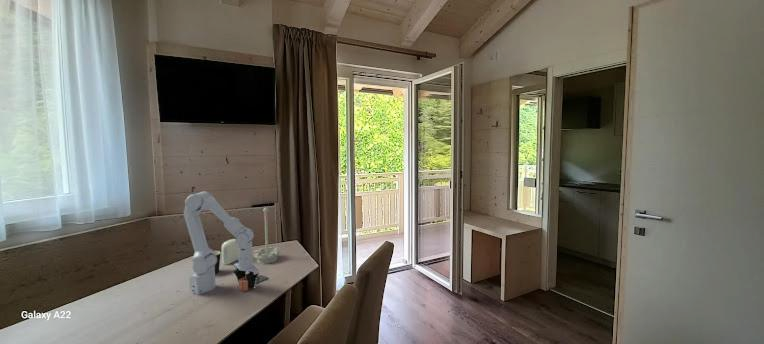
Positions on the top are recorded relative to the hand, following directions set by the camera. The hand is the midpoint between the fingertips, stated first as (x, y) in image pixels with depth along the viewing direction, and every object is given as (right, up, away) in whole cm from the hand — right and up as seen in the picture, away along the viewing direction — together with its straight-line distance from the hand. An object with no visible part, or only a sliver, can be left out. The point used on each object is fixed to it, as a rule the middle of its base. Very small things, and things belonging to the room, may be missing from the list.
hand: (246, 286), depth 140 cm
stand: (0, -2, 0) cm, 2 cm away
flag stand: (-4, +1, +37) cm, 37 cm away
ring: (0, -1, 0) cm, 1 cm away
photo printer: (-23, +1, +34) cm, 41 cm away
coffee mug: (-27, 0, +19) cm, 33 cm away
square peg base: (+1, -1, +9) cm, 9 cm away
